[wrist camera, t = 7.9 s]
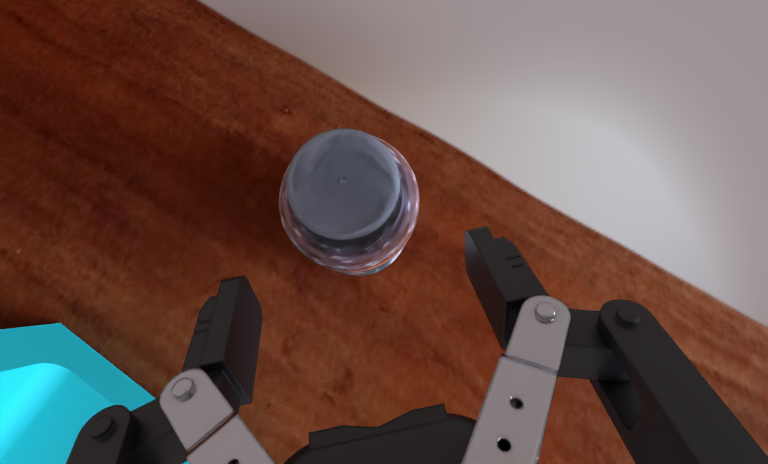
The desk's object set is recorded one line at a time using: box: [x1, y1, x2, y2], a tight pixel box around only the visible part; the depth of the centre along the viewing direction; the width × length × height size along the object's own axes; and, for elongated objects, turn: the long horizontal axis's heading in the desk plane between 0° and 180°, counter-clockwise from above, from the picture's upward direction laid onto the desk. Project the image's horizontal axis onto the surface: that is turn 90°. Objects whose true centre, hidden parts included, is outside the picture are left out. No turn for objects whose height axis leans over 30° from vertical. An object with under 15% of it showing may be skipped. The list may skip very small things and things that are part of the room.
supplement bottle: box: [279, 128, 419, 276], centre depth 19 cm, size 6×6×11 cm
